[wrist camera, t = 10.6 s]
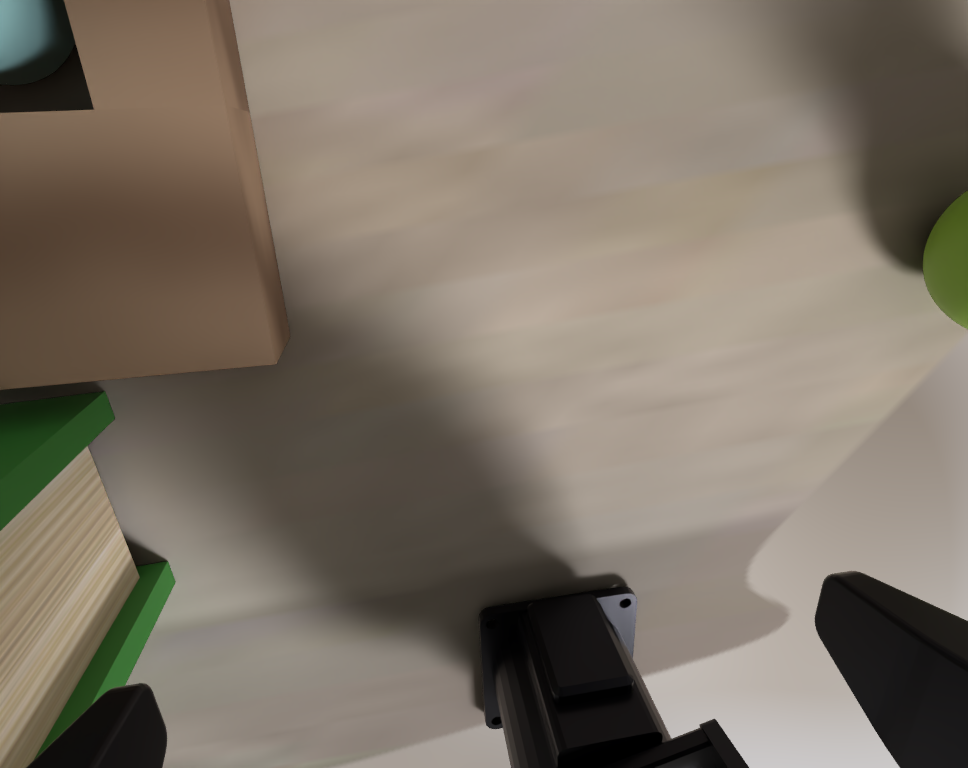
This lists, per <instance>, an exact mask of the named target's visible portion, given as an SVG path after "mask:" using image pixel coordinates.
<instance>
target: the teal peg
mask: <svg viewBox="0 0 968 768" xmlns="http://www.w3.org/2000/svg"><path fill="white" fill-rule="evenodd" d="M74 44H75V39H74V35H73V32H72V28H71V24H70V21H69V17H68V14H67V10H66V6H65V3H64V0H0V84H1V85H20V84H27V83H32V82H36V81H38V80H40V79H43V78H45V77H47V76H48V75H50V74H52V73H53V72H55V71H56V70H57V69H58V68H59V67H60V66H61V65H62V64H63V63H64V62H65V60H66V59H67V58H68V56H69V54H70V53H71V51H72V49H73V47H74Z"/></svg>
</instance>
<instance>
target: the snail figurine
mask: <svg viewBox="0 0 968 768" xmlns="http://www.w3.org/2000/svg"><path fill="white" fill-rule="evenodd" d="M923 274H924V279H925V283H926V286H927V289H928V291H929V293H930V295H931V297H932V299H933V300H934V302H935V303H936V304H937V306H938V307H939V308H940V309H941V310H942V311H943V312H944V313H945V314H946V315H947V316H948V317H949V318H951V319H952V320H953V321H955V322H956V323H958V324H959V325H961V326H963V327H965V328H967V329H968V190H967V191H966V192H964V193H963V194H962V195H961V196H959V197H958V198H957V199H956V200H955V201H954V202H953V203H952V204H951V205H950V206H949V207H948V208H947V209H946V210H945V211H944V213H943V214H942V215H941V216H940V218H939V219H938V221H937V222H936V224H935V225H934V227H933V229H932V231H931V233H930V235H929V237H928V240H927V243H926V246H925V250H924V255H923Z"/></svg>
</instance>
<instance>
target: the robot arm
mask: <svg viewBox="0 0 968 768" xmlns="http://www.w3.org/2000/svg"><path fill="white" fill-rule="evenodd" d="M625 598H626V599H625ZM623 599H625V600H623ZM622 600H623V601H622ZM636 610H637V598H636V596H635V594H634V592H633V591H632V590H631V588H628V587H617V588H611V589H604V590H598V591H591V592H585V593H578V594H572V595H565V596H559V597H552V598H546V599H539V600H533V601H526V602H520V603H513V604H507V605H500V606H493V607H489V608H485V609H484V610H483V611H481V613H480V614H479V618H478V621H479V637H480V653H481V669H482V686H483V702H484V716H485V722H486V725H487V726H488V727H489V728H492V729H499V728H503V730H504V735H505V740H506V744H507V749H508V755H509V759H510V765H511V768H749V767H748V765H747V764H746V763H745V761H744V760H743V758H742V757H741V756H740V754H739V753H738V751H737V750H736V748H735V747H734V745H733V744H732V742H731V741H730V740H729V738H728V737H727V735H726V734H725V732H724V731H723V729H722V728H721V727H720V725H719V724H718V722H717V721H716V720H715V719H713V720H710V721H708V722H705V723H702V724H700V728H698V729H696V730H694V731H691V732H688V733H686V734H683V735H680V736H678V737H675V738H673V739H671V737H670V735H669V733H668V731H667V729H666V727H665V725H664V722H663V720H662V718H661V716H660V714H659V712H658V710H657V708H656V706H655V704H654V702H653V700H652V698H651V696H650V694H649V692H648V690H647V688H646V685H645V683H644V681H643V679H642V677H641V675H640V673H639V671H638V669H637V667H636V665H635V663H634V661H633V648H634V635H635V623H636ZM491 619H495V620H494V621H491V622H490V621H489V620H491ZM815 626H816V630H817V632H818V635H819V637H820V639H821V640H822V642H823V644H824V646H825V647H826V649H827V651H828V652H829V654H830V656H831V657H832V659H833V660H834V662H835V664H836V665H837V667H838V669H839V671H840V672H841V674H842V676H843V677H844V679H845V680H846V682H847V684H848V686H849V687H850V689H851V691H852V692H853V694H854V696H855V697H856V699H857V701H858V702H859V704H860V706H861V707H862V709H863V711H864V712H865V714H866V716H867V717H868V719H869V721H870V722H871V724H872V726H873V727H874V729H875V731H876V732H877V734H878V735H879V737H880V738H881V740H882V742H883V743H884V745H885V746H886V748H887V749H888V751H889V752H890V753H891V755H892V756H893V758H894V759H895V761H896V762H897V764H898V765H899V767H900V768H968V621H966V620H964V619H962V618H960V617H958V616H955V615H953V614H951V613H949V612H947V611H944V610H942V609H940V608H938V607H936V606H933V605H931V604H929V603H927V602H925V601H923V600H920V599H918V598H916V597H914V596H912V595H909V594H907V593H905V592H903V591H901V590H898V589H896V588H894V587H892V586H890V585H887V584H885V583H883V582H881V581H879V580H876V579H874V578H872V577H870V576H868V575H865V574H863V573H861V572H857V571H848V572H841V573H835V574H830V575H828V576H827V577H826V578H825V579H824V581H823V585H822V589H821V593H820V597H819V602H818V606H817V610H816V614H815ZM166 747H167V731H166V726H165V723H164V721H163V718H162V715H161V713H160V710H159V707H158V705H157V702H156V699H155V697H154V694H153V691H152V690H151V688H150V687H149V686H148V685H147V684H143V683H139V684H133V685H127V686H120V687H115V688H112V689H109V690H108V691H106V692H105V693H104V694H103V695H101V696H100V697H99V698H98V699H97V700H96V701H95V702H94V703H93V704H92V705H91V706H90V707H89V708H88V709H87V710H86V711H85V712H84V713H83V714H81V715H80V716H79V717H78V718H77V719H76V720H75V721H74V722H73V723H72V724H71V725H70V726H69V727H68V728H67V729H66V730H65V731H64V732H63V733H62V734H61V735H60V736H58V737H57V738H56V739H55V740H54V741H53V742H52V743H51V744H50V745H49V746H48V747H47V748H46V749H45V750H44V751H43V752H42V753H41V754H40V755H39V756H38V757H37V758H35V759H34V760H33V761H32V762H31V763H30V764H29V765H28V766H27V767H26V768H162V767H163V762H164V757H165V753H166Z"/></svg>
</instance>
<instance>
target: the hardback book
mask: <svg viewBox="0 0 968 768" xmlns="http://www.w3.org/2000/svg"><path fill="white" fill-rule="evenodd" d="M114 419H115V417H114V414H113V411H112V409H111V406H110V403H109V400H108V398H107V395H106V392H105V391H103V392H95V393H87V394H79V395H71V396H64V397H56V398H48V399H40V400H32V401H24V402H16V403H8V404H1V405H0V768H26V767H27V766H28V765H29V764H30V763H31V762H32V761H33V760H34V759H35V758H37V757H38V756H39V755H40V754H41V753H42V752H43V751H44V750H45V749H46V748H47V747H48V746H49V745H50V744H51V743H52V742H53V741H54V740H55V739H56V738H57V737H58V736H60V735H61V734H62V733H63V732H64V731H65V730H66V729H67V728H68V727H69V726H70V725H71V724H72V723H73V722H74V721H75V720H76V719H77V718H78V717H79V716H80V715H81V714H83V713H84V712H85V711H86V710H87V709H88V708H89V707H90V706H91V705H92V704H93V703H94V702H95V701H96V700H97V699H98V698H99V697H100V696H101V695H103V694H104V693H105V692H106V691H108V690H109V689H112V688H115V687H120V686H125V684H126V682H127V680H128V678H129V676H130V674H131V672H132V670H133V668H134V666H135V664H136V662H137V660H138V658H139V656H140V654H141V652H142V650H143V648H144V645H145V643H146V641H147V639H148V637H149V635H150V633H151V631H152V629H153V627H154V625H155V623H156V621H157V619H158V617H159V615H160V613H161V611H162V609H163V607H164V605H165V603H166V601H167V599H168V596H169V594H170V592H171V590H172V588H173V586H174V584H175V579H174V577H173V574H172V571H171V568H170V566H169V563H168V561H166V562H160V563H154V564H148V565H142V566H135V564H134V561H133V559H132V556H131V554H130V551H129V549H128V546H127V544H126V541H125V539H124V536H123V534H122V531H121V529H120V526H119V524H118V521H117V519H116V516H115V514H114V511H113V509H112V506H111V504H110V501H109V499H108V496H107V494H106V491H105V489H104V486H103V484H102V481H101V479H100V476H99V474H98V471H97V469H96V466H95V464H94V461H93V459H92V456H91V453H90V451H89V448H88V445H89V444H90V443H91V442H92V441H93V440H94V439H95V438H96V437H97V436H98V435H99V434H100V433H101V432H102V431H103V430H104V429H105V428H106V427H107V426H108V425H109V424H110V423H111V422H112V421H113V420H114Z"/></svg>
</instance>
